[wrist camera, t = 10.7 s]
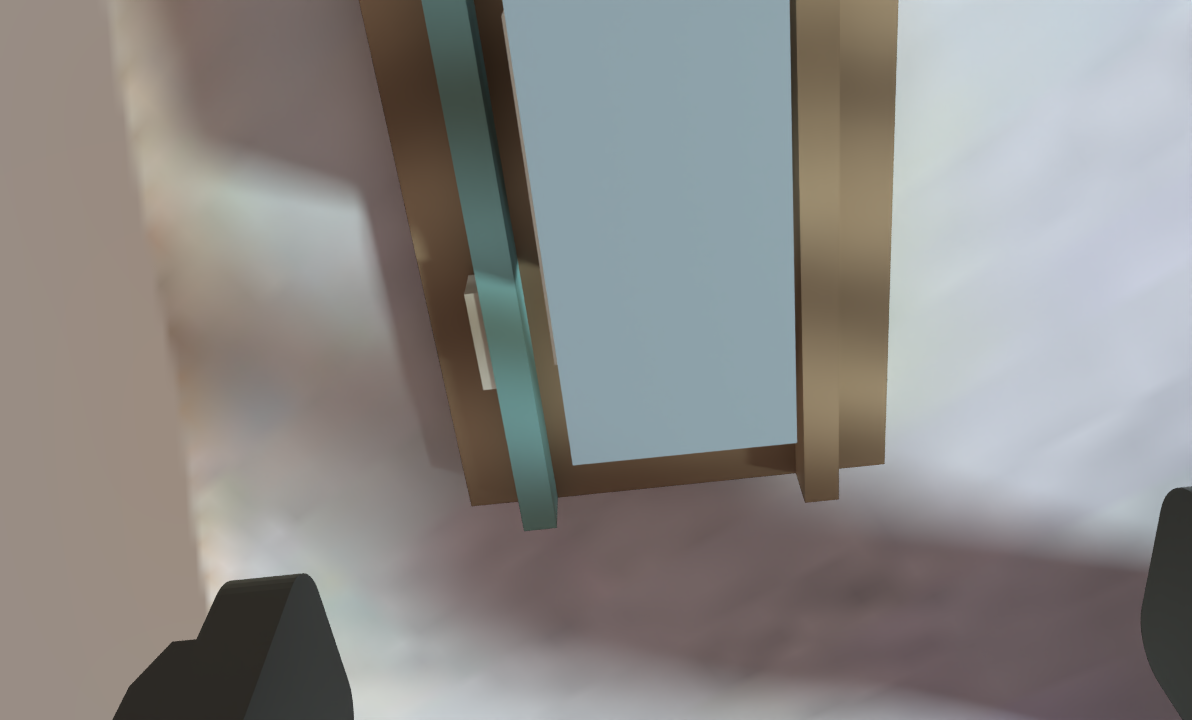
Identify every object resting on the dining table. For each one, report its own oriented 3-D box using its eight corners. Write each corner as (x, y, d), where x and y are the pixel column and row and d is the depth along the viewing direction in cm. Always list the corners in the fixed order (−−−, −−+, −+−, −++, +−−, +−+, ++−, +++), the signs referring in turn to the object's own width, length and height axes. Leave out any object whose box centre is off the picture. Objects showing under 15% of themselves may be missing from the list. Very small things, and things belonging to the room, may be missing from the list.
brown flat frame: (872, 437, 33) (897, 493, 30) (475, 477, 33) (467, 536, 31) (894, -582, 21) (941, -636, 18) (266, -490, 21) (222, -527, 18)
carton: (725, -143, 23) (801, -106, 15) (743, 257, 28) (806, 441, 20) (512, -117, 23) (479, -65, 15) (567, 277, 28) (563, 466, 20)
